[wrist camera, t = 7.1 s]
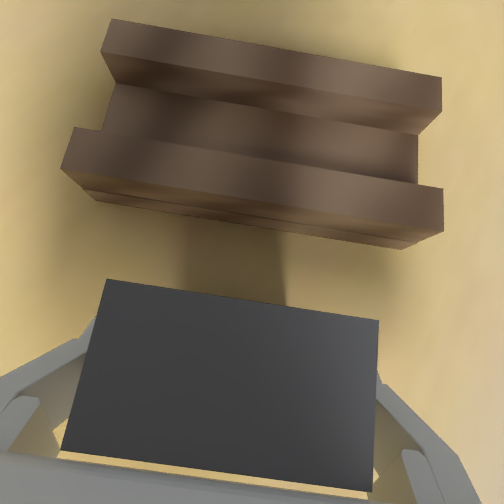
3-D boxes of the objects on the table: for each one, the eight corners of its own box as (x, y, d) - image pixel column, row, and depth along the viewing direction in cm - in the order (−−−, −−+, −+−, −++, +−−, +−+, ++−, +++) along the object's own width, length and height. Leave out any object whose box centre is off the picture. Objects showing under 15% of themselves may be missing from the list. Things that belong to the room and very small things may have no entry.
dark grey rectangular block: (280, 378, 15) (372, 492, 5) (175, 363, 15) (59, 450, 5) (287, 318, 15) (378, 317, 6) (187, 303, 15) (106, 276, 6)
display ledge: (96, 200, 16) (59, 169, 13) (134, 73, 18) (111, 17, 15) (401, 249, 17) (443, 232, 13) (404, 120, 19) (441, 76, 16)
